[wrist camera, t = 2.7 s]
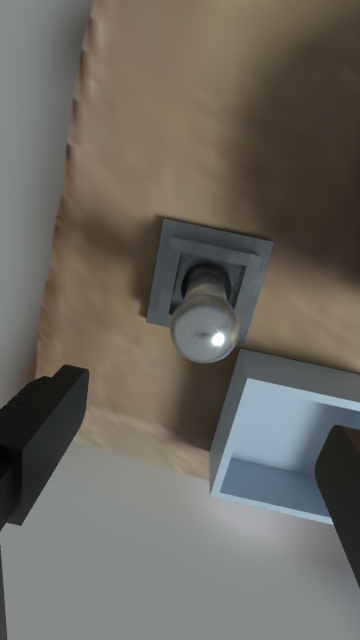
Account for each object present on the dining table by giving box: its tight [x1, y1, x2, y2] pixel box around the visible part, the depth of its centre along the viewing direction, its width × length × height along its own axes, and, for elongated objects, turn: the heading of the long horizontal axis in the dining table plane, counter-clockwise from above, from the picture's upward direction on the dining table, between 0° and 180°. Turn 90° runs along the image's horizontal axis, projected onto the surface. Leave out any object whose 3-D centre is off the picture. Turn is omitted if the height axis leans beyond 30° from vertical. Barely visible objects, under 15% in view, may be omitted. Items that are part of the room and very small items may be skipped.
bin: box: [209, 348, 360, 525], centre depth 31 cm, size 14×14×6 cm
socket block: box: [146, 219, 274, 344], centre depth 27 cm, size 10×10×4 cm
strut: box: [170, 261, 240, 364], centre depth 22 cm, size 4×4×14 cm
